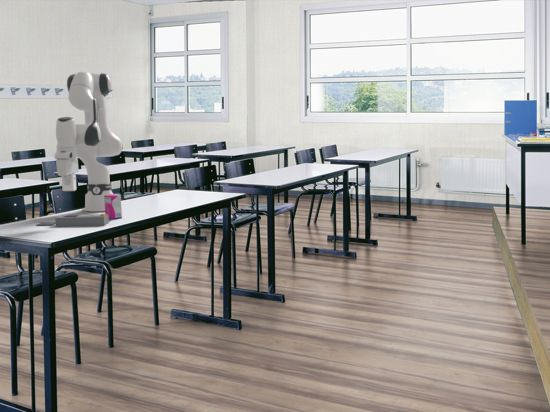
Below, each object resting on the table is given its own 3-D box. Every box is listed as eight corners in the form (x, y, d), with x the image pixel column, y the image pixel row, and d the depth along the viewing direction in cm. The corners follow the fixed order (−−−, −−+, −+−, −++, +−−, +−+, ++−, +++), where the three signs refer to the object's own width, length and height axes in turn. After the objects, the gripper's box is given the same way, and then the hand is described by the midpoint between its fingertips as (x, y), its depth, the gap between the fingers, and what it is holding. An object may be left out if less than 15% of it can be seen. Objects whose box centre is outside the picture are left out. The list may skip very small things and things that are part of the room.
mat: (41, 223, 306) (41, 222, 306) (56, 223, 306) (56, 222, 306) (36, 225, 299) (36, 224, 299) (51, 225, 299) (51, 224, 299)
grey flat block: (66, 220, 312) (65, 210, 312) (112, 220, 312) (112, 210, 312) (55, 226, 296) (54, 215, 296) (104, 225, 296) (103, 215, 296)
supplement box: (114, 217, 322) (113, 193, 321) (122, 218, 319) (121, 194, 317) (104, 218, 318) (103, 195, 316) (112, 219, 314) (111, 195, 313)
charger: (65, 189, 301) (64, 174, 300) (76, 189, 301) (75, 174, 300) (62, 191, 296) (61, 175, 295) (74, 190, 296) (73, 175, 295)
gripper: (67, 152, 306) (69, 181, 308) (53, 155, 286) (55, 186, 288) (81, 152, 306) (82, 181, 308) (67, 155, 286) (69, 186, 288)
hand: (69, 184), depth 298 cm, fingers closed on charger, 4 cm apart
